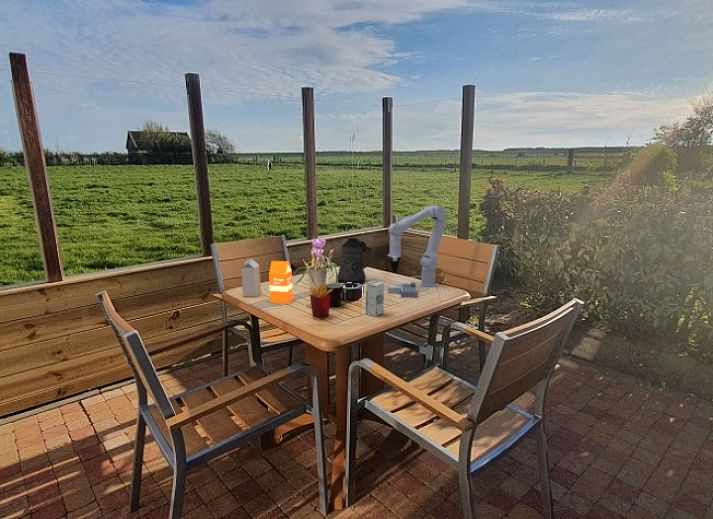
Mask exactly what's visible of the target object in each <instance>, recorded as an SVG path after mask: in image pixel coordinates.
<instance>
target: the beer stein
mask: <svg viewBox="0 0 713 519" xmlns="http://www.w3.org/2000/svg"><path fill="white" fill-rule="evenodd" d="M340 249H341V257H340V258H341V259H340V265H339V269H338V272H337V275H336V278H337V277H338V278H337V283H347V282H352V283H361V284H360V285H363V284H364V283H366V278H367V276H366V273H365V268H367V267H368V266H369V265H370V263H371V261H373V260H372V259H373V255H374V254H373V250H372V248H371V247H369V246H367V243H366V242H365V241H361V240H359V239H358V238H355V237H353V238H352V237H351V238H348V239H347V241H346V242H344V243H343V244H342V245H341V246H340ZM362 252H365V253H367V254H368V257H367V258H366V260H365V262H364V263H363V255H362Z"/></svg>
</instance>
